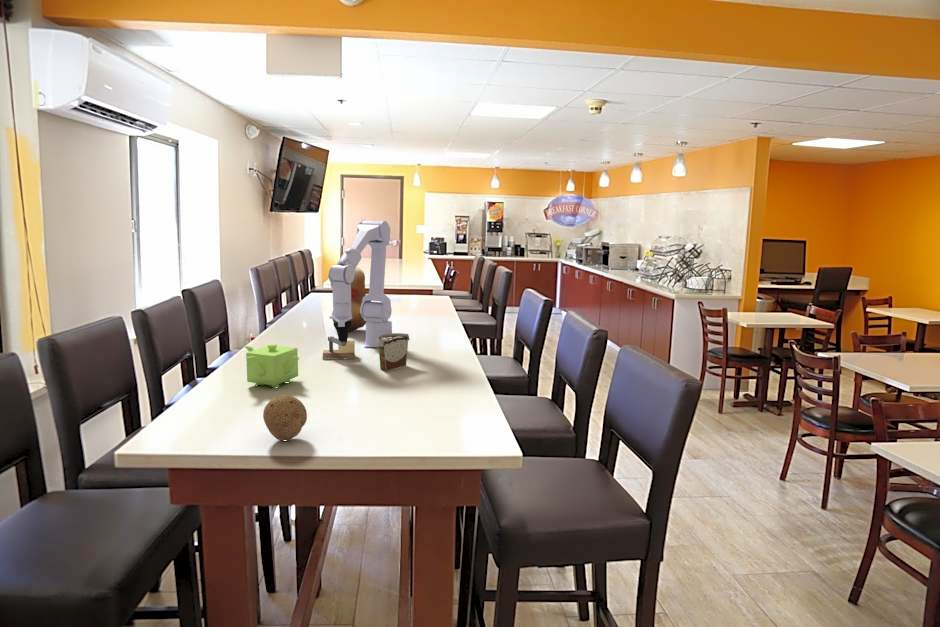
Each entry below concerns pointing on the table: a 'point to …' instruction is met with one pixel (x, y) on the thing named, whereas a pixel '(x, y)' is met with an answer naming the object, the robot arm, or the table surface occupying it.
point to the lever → (336, 341)
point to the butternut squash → (357, 300)
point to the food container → (392, 350)
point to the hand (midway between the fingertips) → (343, 343)
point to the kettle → (271, 364)
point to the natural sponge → (285, 417)
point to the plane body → (336, 353)
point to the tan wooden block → (347, 347)
